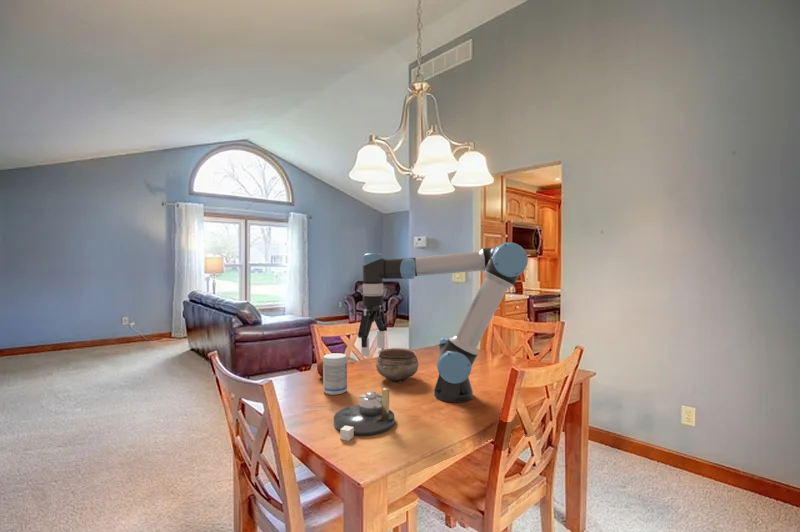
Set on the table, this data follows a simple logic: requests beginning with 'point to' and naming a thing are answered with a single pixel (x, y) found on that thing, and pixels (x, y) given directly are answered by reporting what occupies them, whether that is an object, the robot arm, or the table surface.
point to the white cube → (347, 433)
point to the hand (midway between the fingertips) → (373, 351)
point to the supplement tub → (334, 373)
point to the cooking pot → (397, 363)
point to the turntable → (366, 418)
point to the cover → (370, 403)
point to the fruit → (320, 367)
